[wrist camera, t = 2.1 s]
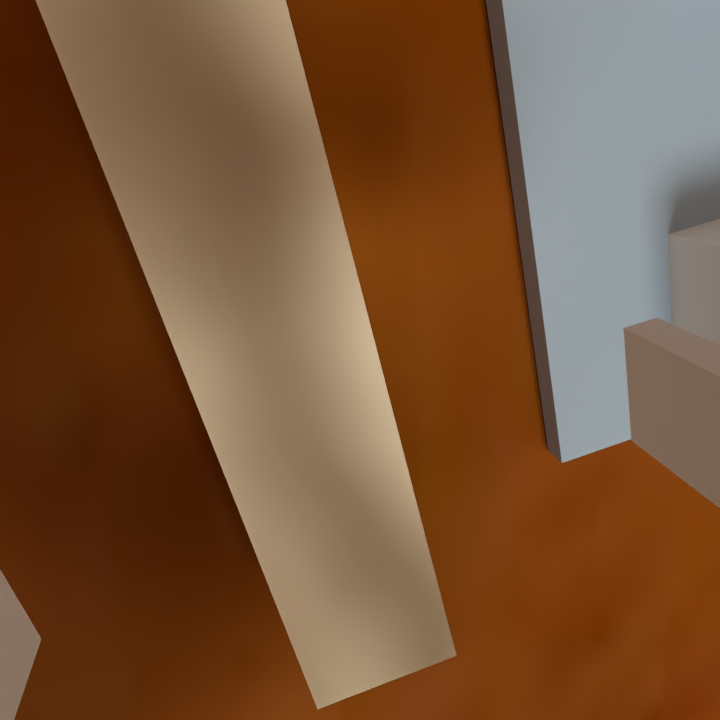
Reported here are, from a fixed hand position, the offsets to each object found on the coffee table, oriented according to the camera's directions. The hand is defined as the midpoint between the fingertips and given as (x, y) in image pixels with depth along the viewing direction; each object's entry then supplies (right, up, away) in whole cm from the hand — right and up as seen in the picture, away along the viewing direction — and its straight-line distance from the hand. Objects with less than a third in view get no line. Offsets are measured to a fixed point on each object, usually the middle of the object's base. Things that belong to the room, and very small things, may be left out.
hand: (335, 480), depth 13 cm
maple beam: (-3, +4, +11) cm, 12 cm away
